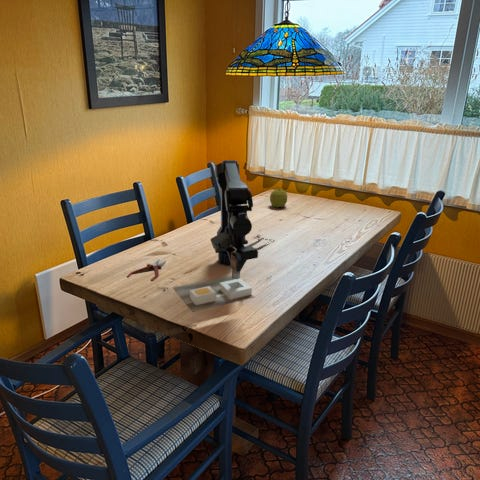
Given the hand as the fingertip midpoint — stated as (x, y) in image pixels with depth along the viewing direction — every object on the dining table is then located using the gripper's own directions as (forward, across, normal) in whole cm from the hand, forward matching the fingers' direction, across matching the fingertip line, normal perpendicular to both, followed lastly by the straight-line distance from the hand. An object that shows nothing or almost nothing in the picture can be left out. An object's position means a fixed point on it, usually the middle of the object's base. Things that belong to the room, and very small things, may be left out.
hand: (235, 269), depth 146 cm
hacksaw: (+11, -39, +30) cm, 50 cm away
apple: (+10, -83, +70) cm, 109 cm away
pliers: (+11, -28, -20) cm, 36 cm away
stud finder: (+8, 0, -12) cm, 15 cm away
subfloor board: (+10, -3, -7) cm, 13 cm away
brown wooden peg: (+3, 0, 0) cm, 3 cm away
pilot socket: (+8, 0, 0) cm, 8 cm away
